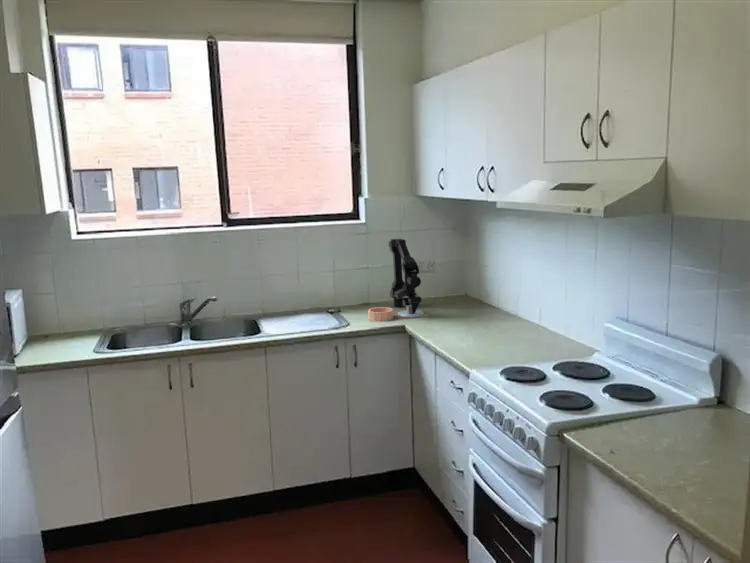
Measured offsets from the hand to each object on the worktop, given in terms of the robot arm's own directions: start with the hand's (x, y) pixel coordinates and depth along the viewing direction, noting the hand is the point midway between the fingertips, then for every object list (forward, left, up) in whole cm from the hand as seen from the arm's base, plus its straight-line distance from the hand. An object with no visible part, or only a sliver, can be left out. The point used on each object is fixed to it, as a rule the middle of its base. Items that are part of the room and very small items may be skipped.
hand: (410, 312), depth 340 cm
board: (0, 0, -2) cm, 2 cm away
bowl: (0, -17, -2) cm, 17 cm away
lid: (0, 0, -2) cm, 2 cm away
